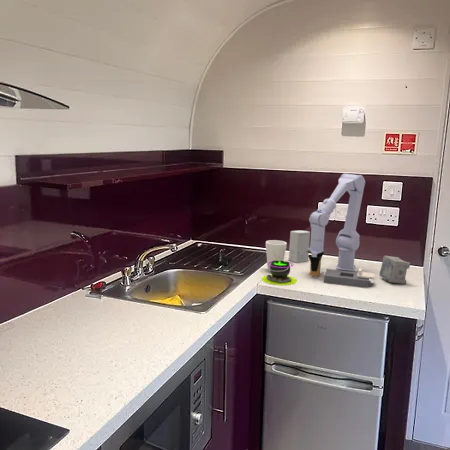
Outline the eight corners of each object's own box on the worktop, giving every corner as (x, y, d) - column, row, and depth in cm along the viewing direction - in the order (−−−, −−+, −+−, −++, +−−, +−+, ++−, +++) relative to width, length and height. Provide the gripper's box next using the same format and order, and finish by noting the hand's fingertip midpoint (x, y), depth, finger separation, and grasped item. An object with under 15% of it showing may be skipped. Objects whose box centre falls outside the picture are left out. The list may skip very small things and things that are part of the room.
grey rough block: (408, 284, 198) (411, 260, 196) (390, 285, 196) (393, 261, 194) (395, 277, 207) (397, 254, 206) (378, 278, 206) (380, 255, 204)
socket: (326, 275, 207) (327, 268, 207) (368, 280, 202) (369, 273, 201) (323, 282, 197) (323, 275, 196) (368, 287, 191) (368, 280, 191)
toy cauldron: (254, 278, 200) (255, 253, 198) (278, 273, 209) (280, 249, 207) (279, 288, 188) (281, 261, 186) (304, 281, 198) (306, 256, 196)
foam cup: (271, 266, 219) (272, 239, 217) (288, 270, 214) (290, 242, 212) (260, 270, 212) (261, 242, 209) (278, 274, 206) (280, 245, 204)
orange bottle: (311, 272, 211) (312, 255, 209) (320, 273, 210) (321, 256, 208) (309, 275, 207) (310, 257, 206) (318, 276, 206) (320, 258, 204)
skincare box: (296, 263, 226) (298, 233, 224) (288, 260, 231) (289, 230, 229) (308, 260, 231) (310, 231, 229) (300, 258, 236) (302, 229, 233)
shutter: (357, 273, 200) (358, 266, 200) (374, 274, 198) (374, 268, 198) (357, 277, 194) (357, 270, 194) (373, 279, 192) (374, 272, 192)
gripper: (310, 235, 213) (308, 264, 216) (305, 241, 200) (303, 272, 202) (326, 236, 211) (324, 265, 214) (322, 243, 198) (320, 274, 200)
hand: (315, 269), depth 208 cm, fingers open, 6 cm apart
